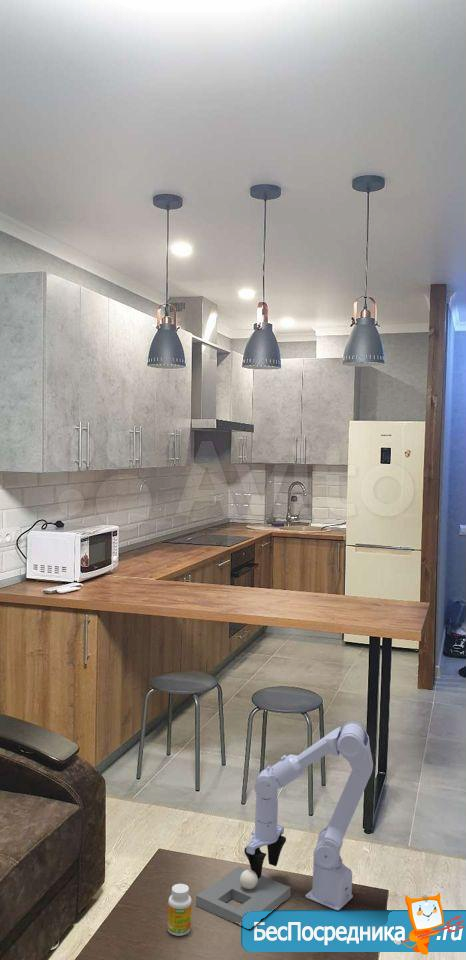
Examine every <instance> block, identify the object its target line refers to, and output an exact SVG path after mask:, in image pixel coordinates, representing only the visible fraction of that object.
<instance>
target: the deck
mask: <svg viewBox="0 0 466 960" xmlns="http://www.w3.org/2000/svg"><path fill="white" fill-rule="evenodd" d="M245 870H248V869H247V868H245V867H242V866H237V867H236V868H234V869H233V870H231V871H230V872H228V873H227V874H225V875H224V876H223V877H221V878H220V879H218V880H216V881H214V883H212V884H210V886H208V887H207V888H204V890H202V891H201V892H199V893H198V894H196V896H195V906H196V907H198V908H201V909H202V910H205V911H206V912H209V913H210V914H213V915H215V916H217V915H218V917H219V916H220V917H219V918H221V917H223V918H222V919H224V918H225V919H224V920H226V919H227V920H226V921H228V920H230V921H232V922H238V923H240V922H241V921H242V918H243V915H244V914H245V913H247V912H251V911H266V910H272V909H274V908H275V907H277V906H279V905H280V904H281V903H283V902H284V901H285V902H286V901H288V900H289V899H291V887H290V886H289V885H286V884H283V883H282V882H279V881H277V880H274V879H271V878H270V877H267V876H264V875H262V874H261V877H260V878H259V879H258V881H257V884H256V886H255V887H254V888H252V889H246V888H244V887H243V886H242V885H241V882H240V876H241V874H242V873H243V871H245ZM233 899H234V900H233ZM230 900H233V901H236V902H238V901H239V902H238V903H240V902H241V903H240V904H242V903H244V904H242V905H240V906H238V907H235V906H233V905H231V904H229V903H228V902H230ZM226 902H227V903H226ZM285 902H284V903H285ZM284 903H283V904H284ZM281 905H282V904H281ZM281 905H280V906H281ZM280 906H279V907H280ZM230 921H229V922H230ZM232 922H231V923H232Z"/></svg>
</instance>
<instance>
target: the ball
mask: <svg viewBox="0 0 466 960" xmlns="http://www.w3.org/2000/svg"><path fill="white" fill-rule="evenodd" d="M257 881H258V878H257V875H256V873H255V872H254V871H253V870H251V869H247V870H245V871H243V873H242V874H241V876H240V882H241V885H242V886H243V887H244V888H246V889H252V888H254V887H255V886H256V884H257Z"/></svg>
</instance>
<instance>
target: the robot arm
mask: <svg viewBox="0 0 466 960" xmlns="http://www.w3.org/2000/svg"><path fill="white" fill-rule="evenodd" d="M370 745H371V744H370V736H369V735H368V733H367V731H366V729H365V728H364V726H363V725H362V724H360V723H359V722H356V721H348V722H346V723H345V724H343V726H342V727H341V726H339V727H336V728H335V729H333V730H332V731H330V732H329V733H327V734H326V735H324V737H322V738H320V739H319V740H318V741H316V742H315V743H313V744H312V745H310V746H309V747H308V748H306V749H305V750H304V751H302V752H301V753H299V754H298V755H295V754H288V755H286V754H284V755H283V756H281V758H280V760H279V761H277V763H275V764H273V765H268V766H267V767H266V768H265V769H263V770H261V772H260V773H259V774H258V776H257V778H256V780H255V782H254V786H253V788H254V791H255V793H256V794H255V796H256V799H255V811H254V812H255V815H254V819H255V820H254V830H252V831H251V835H252V837H251V839H250V841H249V842H248V844H246V847H245V848H244V851H243V852H244V854H245V856H246V857H247V860H248V864H249V866H250V870H253V871H254V872H255V873H256V875H257V878H258V879H259V878H260V877H261V875H262V873H263V865H264V861H265V859H266V857H267V860H268V864H269V865H271V866H273V867H277V866H278V863H279V860H280V856H281V855H280V854H281V852H282V849H283V847H284V845H285V843H286V842H287V837H286V836H283V835H284V834H285V826H284V825H281V824H279V823H278V817H279V816H278V812H279V811H278V808H279V807H278V806H279V800H278V795H279V794H278V792H279V790H278V789H282V788H284V787H286V786H288V785H289V784H291V783H292V782H294V781H295V780H297V779H298V778H300V777H301V776H303V775H304V769H305V768H306V767H307V766H309V765H311V764H312V763H314V762H316V761H318V760H320V759H322V758H323V757H325V756H326V755H328V754H329V755H332V756H336V757H339V756H340V755H341V756H342V757H343V758H344V759H345V760H346V761H347V762H348V763H349V766H350V767H351V772H350V774H349V777H348V778H347V780H346V783H345V786H344V787H343V790H342V792H341V794H340V796H339V799H338V801H337V803H336V806H335V808H334V810H333V812H332V815H331V817H330V819H329V821H328V822H327V824H326V826H325V828H323V829H322V830H321V831H320V832H319V833H318V836H317V837H318V838H317V841H316V846H315V848H314V851H313V864H312V865H313V867H312V887H311V888H312V889H311V890H310V891H308V893H306V894H305V898H306V899H308V900H311V901H314V902H315V903H319V904H321V905H323V906H325V907H328V908H330V909H333V910H334V911H340V910H341V909H342V908H343V907H344V906H345V905H346V904H348V902H349V901H351V899H353V896H354V895H353V894H352V893H353V892H352V890H353V872H352V869H351V868H349V867H347V866H346V865H345V864H344V863H343V858H342V857H341V850H342V849H341V848H342V847H343V842H344V837H345V835H346V832H347V830H348V828H349V825H350V824H351V821H352V819H353V816H354V814H355V813H356V809H357V807H358V805H359V803H360V800H361V799H362V796H363V793H364V791H365V789H366V787H367V784H368V781H369V780H370V778H371V775H372V773H373V769H374V763H373V762H374V761H373V755H372V752H371V751H372V750H371V746H370ZM265 846H266V847H267V853H265V852H262V850H261V847H265Z"/></svg>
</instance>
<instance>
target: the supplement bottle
mask: <svg viewBox="0 0 466 960" xmlns="http://www.w3.org/2000/svg"><path fill="white" fill-rule="evenodd" d="M167 904H168V905H167V931H168V933H169V934H171V935H173V936H175V937H177V936H178V937H179V936H185V935H187V934H189V933H190V931H191V927H192V897H191V896H190V889H189V886H188V885H187V884H184V883H177V884H176V883H175V884H174V885H172V886H171V894H170V895H169V897H168V902H167Z"/></svg>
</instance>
